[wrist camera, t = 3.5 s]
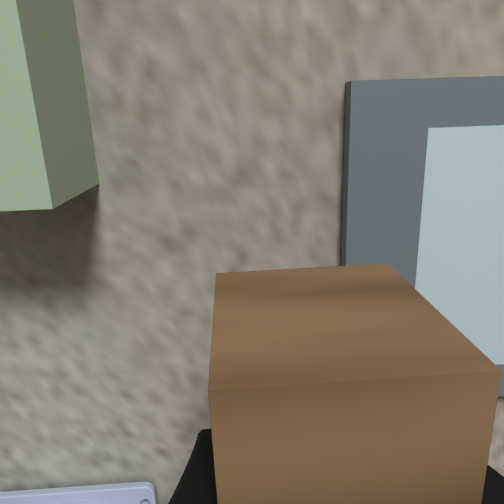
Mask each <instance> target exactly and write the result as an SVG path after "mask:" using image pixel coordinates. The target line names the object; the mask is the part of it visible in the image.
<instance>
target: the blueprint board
mask: <svg viewBox="0 0 504 504" xmlns="http://www.w3.org/2000/svg"><path fill="white" fill-rule="evenodd" d="M386 263H388V264H389V265H390V266H391V267H392V268H393V269H394V270H396V271H397V272H398V273H399V274H400V275H401V276H402V277H403V278H404V279H405V280H406V281H407V282H408V283H409V284H410V285H411V286H413V287H414V288H415V289H416V290H417V291H418V292H419V293H420V294H421V295H422V296H423V297H424V298H425V299H426V300H427V301H428V302H429V303H431V304H432V305H433V306H434V307H435V308H436V309H437V310H438V311H439V312H440V313H441V314H442V315H443V316H444V317H445V318H446V319H447V320H449V321H450V322H451V323H452V324H453V325H454V326H455V327H456V328H457V329H458V330H459V331H460V332H461V333H462V334H463V335H464V336H465V337H467V338H468V339H469V340H470V341H471V342H472V343H473V344H474V345H475V346H476V347H477V348H478V349H479V350H480V351H481V352H482V353H483V354H485V355H486V356H487V357H488V358H489V359H490V360H491V361H492V362H493V363H494V364H495V365H496V366H497V367H498V368H499V369H500V370H501V371H502V372H501V379H500V385H499V392H498V397H501V396H504V76H488V77H459V78H429V79H399V80H369V81H350V82H346V91H345V126H344V161H343V197H342V232H341V266H352V265H369V264H386Z"/></svg>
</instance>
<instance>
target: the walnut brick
mask: <svg viewBox="0 0 504 504" xmlns="http://www.w3.org/2000/svg"><path fill="white" fill-rule="evenodd" d="M501 372H502V371H501V370H500V369H499V368H498V367H497V366H496V365H495V364H494V363H493V362H492V361H491V360H490V359H489V358H488V357H487V356H486V355H485V354H483V353H482V352H481V351H480V350H479V349H478V348H477V347H476V346H475V345H474V344H473V343H472V342H471V341H470V340H469V339H468V338H467V337H465V336H464V335H463V334H462V333H461V332H460V331H459V330H458V329H457V328H456V327H455V326H454V325H453V324H452V323H451V322H450V321H449V320H447V319H446V318H445V317H444V316H443V315H442V314H441V313H440V312H439V311H438V310H437V309H436V308H435V307H434V306H433V305H432V304H431V303H429V302H428V301H427V300H426V299H425V298H424V297H423V296H422V295H421V294H420V293H419V292H418V291H417V290H416V289H415V288H414V287H413V286H411V285H410V284H409V283H408V282H407V281H406V280H405V279H404V278H403V277H402V276H401V275H400V274H399V273H398V272H397V271H396V270H394V269H393V268H392V267H391V266H390V265H389V264H388V263H386V264H369V265H352V266H334V267H317V268H300V269H282V270H265V271H248V272H230V273H216V282H215V296H214V311H213V326H212V341H211V355H210V370H209V385H208V395H209V407H210V419H211V431H212V443H213V455H214V467H215V479H216V490H217V502H218V504H481V502H482V496H483V489H484V483H485V476H486V470H487V463H488V457H489V450H490V444H491V437H492V431H493V424H494V418H495V411H496V405H497V398H498V392H499V385H500V379H501Z"/></svg>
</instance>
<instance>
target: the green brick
mask: <svg viewBox="0 0 504 504" xmlns="http://www.w3.org/2000/svg"><path fill="white" fill-rule="evenodd" d="M98 184H99V178H98V171H97V164H96V157H95V150H94V143H93V136H92V129H91V122H90V115H89V108H88V101H87V94H86V87H85V80H84V73H83V66H82V59H81V52H80V45H79V38H78V31H77V23H76V16H75V9H74V2H73V0H0V211H20V210H41V209H54V208H56V207H57V206H59V205H61V204H63V203H65V202H66V201H68V200H70V199H72V198H74V197H76V196H77V195H79V194H81V193H83V192H85V191H87V190H88V189H90V188H92V187H94V186H96V185H98Z"/></svg>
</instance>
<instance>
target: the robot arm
mask: <svg viewBox="0 0 504 504" xmlns="http://www.w3.org/2000/svg"><path fill="white" fill-rule="evenodd" d="M144 499H147V500H149V501H144ZM0 504H157V496H156V489H155V486H154V485H153V484H152V483H150V482H131V483H118V484H104V485H90V486H76V487H62V488H48V489H34V490H20V491H6V492H0ZM168 504H218V502H217V490H216V479H215V467H214V455H213V443H212V431H211V429H203V430H202V431H200V432H199V433H198V437H197V440H196V443H195V446H194V449H193V452H192V454H191V457H190V459H189V461H188V464H187V466H186V468H185V471H184V473H183V475H182V477H181V479H180V481H179V483H178V485H177V487H176V490H175V492H174V494H173V496H172V498H171V500H170V502H169V503H168ZM481 504H504V477H503V476H502V475H500V474H499V473H498V472H496V471H495V470H494V469H493V468H491V467H490V466H489V465H487V470H486V476H485V483H484V489H483V496H482V502H481Z"/></svg>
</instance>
